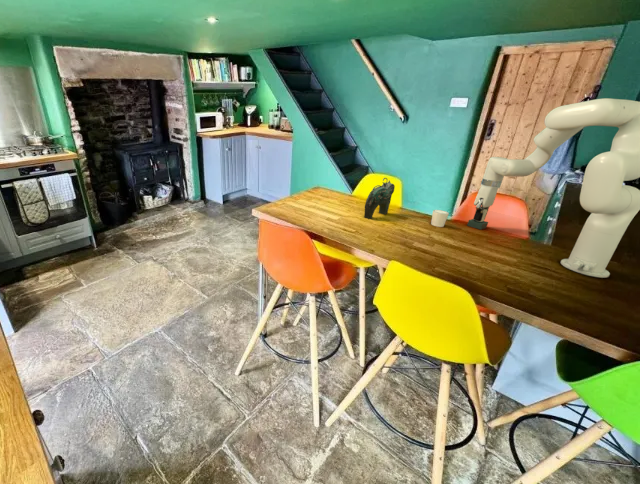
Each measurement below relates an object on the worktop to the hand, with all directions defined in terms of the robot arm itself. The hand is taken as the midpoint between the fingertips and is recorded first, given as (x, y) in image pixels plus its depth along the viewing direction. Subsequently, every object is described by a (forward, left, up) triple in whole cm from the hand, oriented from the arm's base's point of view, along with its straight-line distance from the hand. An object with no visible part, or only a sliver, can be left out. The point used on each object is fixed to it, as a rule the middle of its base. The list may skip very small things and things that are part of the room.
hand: (479, 219), depth 149 cm
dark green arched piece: (-35, +33, -4) cm, 48 cm away
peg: (0, 0, -1) cm, 1 cm away
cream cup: (-18, +10, -4) cm, 21 cm away
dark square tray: (0, 0, -4) cm, 4 cm away
